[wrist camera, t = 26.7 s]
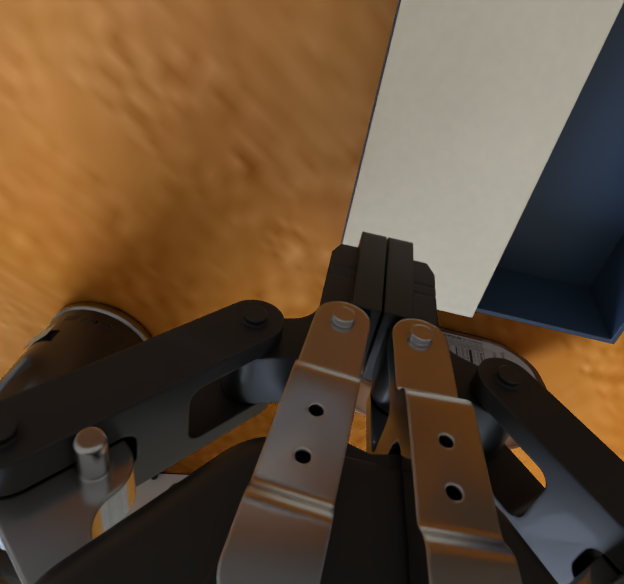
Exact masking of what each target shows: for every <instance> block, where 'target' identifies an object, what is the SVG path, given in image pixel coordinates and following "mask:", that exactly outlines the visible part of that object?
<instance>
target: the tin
mask: <svg viewBox="0 0 624 584" xmlns="http://www.w3.org/2000/svg"><path fill="white" fill-rule="evenodd" d="M438 329H439V330H440V331H442V333H443V334H444V335H445V337H446V339H447V342H448V346H449V350H451V351H452V352H453V353H455V354H456V355H458V356H459V357H461V358H463V359H465V360H467V361H469V362H471V363H474V364H476V365H478V366H479V365H480V363H481V362H482V361H483V360H485V359H487V358H492V357H497V358H504V359H507V360H510V361H512V362H514V363H516V364H518V365H520V366H521V367H523V368H524V369H525V370H526V371H527V372H529V373H530V374H531V375H532V376H533V377H534V378H535V379H536V380H537V381H538V382H539V383H540V384H541V385H542V386H543V387H544V388H546V386H545V384H544V382H543V381H542V378H541V376H540V375H539V373H538V372H537V370H536V369H535V368H534V367H533V366H532V365H531V364H530V363H529V362H528V361H527V360H526V359H524V358H523V357H522V356H520V355H519V354H517V353H516V352H514V351H513V350H511V349H509V348H507V347H505V346H503V345H501V344H499V343H497V342H494V341H491V340H488V339H484V338H480V337H476V336H472V335H468V334H463V333H459V332H455V331H451V330H447V329H443V328H439V327H438ZM362 373H363V369H362V372H361V375H360V378H361V382H360V388H359V392H358V397H357V402H356V406H355V411H356V412H358V413H360V414H362V415H364V416H366V402H367V399H368V396H369V393H370V390H371V386H372V380H368V379H364V378H362ZM504 444H505V445H506V446H507V447H508V448H509V449H514V448H518V447H520V446H519V445H518V444H517V443H516V442H515V441H514V440H513V439H512V438H511V437H510V436H509V437H508V439H507V440H506V442H505V443H504Z"/></svg>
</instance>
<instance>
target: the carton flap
mask: <svg viewBox="0 0 624 584" xmlns="http://www.w3.org/2000/svg"><path fill="white" fill-rule="evenodd" d="M623 3H624V0H401V3H400V7H399V11H398V15H397V20H396V24H395V28H394V32H393V36H392V40H391V44H390V49H389V53H388V57H387V61H386V65H385V69H384V73H383V78H382V82H381V86H380V90H379V94H378V98H377V102H376V107H375V111H374V115H373V119H372V123H371V127H370V131H369V136H368V140H367V144H366V148H365V152H364V156H363V160H362V164H361V169H360V173H359V177H358V181H357V185H356V189H355V193H354V198H353V202H352V206H351V210H350V214H349V218H348V222H347V227H346V231H345V235H344V239H343V243H342V244H345V245H350V246H354V247H358V245H359V241H360V238H361V234H362V232H363V231H364V232H368V233H372V234H377V235H381V236H385V237H387V239H388V237H390V238H394V239H399V240H403V241H407V242H412V243H413V258H414V260H415V261H419V262H423V263H427V264H428V266H429V267H430V269H431V270H432V272H433V273H434V275H435V289H436V304H437V310H441V311H445V312H450V313H454V314H458V315H462V316H467V317H471V318H472V317H473V315H474V313H475V311H476V309H477V306H478V304H479V302H480V300H481V298H482V296H483V294H484V292H485V290H486V288H487V286H488V284H489V282H490V279H491V277H492V275H493V273H494V271H495V269H496V267H497V265H498V263H499V261H500V259H501V257H502V254H503V252H504V250H505V248H506V246H507V244H508V242H509V240H510V238H511V236H512V234H513V232H514V230H515V227H516V225H517V223H518V221H519V219H520V217H521V215H522V213H523V211H524V209H525V207H526V205H527V202H528V200H529V198H530V196H531V194H532V192H533V190H534V188H535V186H536V184H537V182H538V180H539V178H540V175H541V173H542V171H543V169H544V167H545V165H546V163H547V161H548V159H549V157H550V155H551V153H552V150H553V148H554V146H555V144H556V142H557V140H558V138H559V136H560V134H561V132H562V130H563V128H564V126H565V123H566V121H567V119H568V117H569V115H570V113H571V111H572V109H573V107H574V105H575V103H576V101H577V98H578V96H579V94H580V92H581V90H582V88H583V86H584V84H585V82H586V80H587V78H588V76H589V73H590V71H591V69H592V67H593V65H594V63H595V61H596V59H597V57H598V55H599V53H600V51H601V49H602V46H603V44H604V42H605V40H606V38H607V36H608V34H609V32H610V30H611V28H612V26H613V24H614V21H615V19H616V17H617V15H618V13H619V11H620V9H621V7H622V5H623Z"/></svg>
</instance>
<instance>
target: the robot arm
mask: <svg viewBox="0 0 624 584" xmlns="http://www.w3.org/2000/svg"><path fill="white" fill-rule="evenodd" d="M32 343H33V344H32ZM31 344H32V345H31ZM29 345H31V346H30V347H29V348H28V349H27V351H26V352H25V353H24V354H23V355H22V356H21V357H20V358H19V360H18V361H17V362H16V363H15V364H14V365H13V366H12V368H11V369H10V370H9V371H8V372H7V373H6V374H5V375H4V377H3V378H2V379H1V380H0V584H624V462H623V461H622V460H621V459H620V458H619V457H618V456H617V455H616V454H615V453H614V452H613V451H612V450H611V449H609V448H608V447H607V446H606V445H605V444H604V443H603V442H602V441H601V440H600V439H599V438H598V437H597V436H596V435H595V434H593V433H592V432H591V431H590V430H589V429H588V428H587V427H586V426H585V425H584V424H583V423H582V422H581V421H580V420H579V419H577V418H576V417H575V416H574V415H573V414H572V413H571V412H570V411H569V410H568V409H567V408H566V407H565V406H564V405H563V404H562V403H560V402H559V401H558V400H557V399H556V398H555V397H554V396H553V395H552V394H551V393H550V392H549V391H548V390H547V389H546V388H544V387H543V386H542V385H541V384H540V383H539V382H538V381H537V380H536V379H535V378H534V377H533V376H532V375H531V374H530V373H529V372H527V371H526V370H525V369H524V368H523V367H521V366H520V365H518V364H516V363H514V362H512V361H510V360H507V359H504V358H497V357H492V358H487V359H485V360H483V361H482V362H481V363H480V365H479V366H478V365H476V364H474V363H471V362H469V361H467V360H465V359H463V358H461V357H459V356H458V355H456V354H455V353H453V352H452V351H451V350H449V346H448V342H447V339H446V337H445V335H444V334H443V333H442V331H440V330H439V329H438V318H437V304H436V289H435V275H434V273H433V272H432V270H431V269H430V267H429V266H428V264H427V263H423V262H419V261H415V260H414V258H413V243H412V242H407V241H403V240H399V239H394V238H390V237H388V239H387V237H385V236H381V235H377V234H372V233H368V232H364V231H363V232H362V234H361V238H360V241H359V245H358V247H354V246H350V245H345V244H341V245H339V246H338V247H337V248H336V249H335V250H333V251H332V255H331V259H330V264H329V268H328V272H327V276H326V280H325V285H324V289H323V293H322V298H321V302H320V306H319V307H318V308H317V310H316V311H315V312H314V313H313V314H311V315H309V316H306V317H303V318H294V319H284V317H283V315H282V313H281V312H280V311H279V310H278V309H277V308H276V307H275V306H273V305H271V304H269V303H267V302H264V301H260V300H244V301H240V302H237V303H235V304H232V305H230V306H227V307H225V308H223V309H220V310H218V311H215V312H213V313H211V314H208V315H206V316H203V317H201V318H199V319H196V320H194V321H191V322H189V323H186V324H184V325H182V326H179V327H177V328H174V329H172V330H170V331H167V332H165V333H162V334H160V335H157V336H155V337H153V338H151V336H150V335H149V334H148V332H147V331H146V330H145V329H144V328H143V327H142V326H141V325H140V324H139V323H138V322H136V321H135V320H134V319H133V318H131V317H130V316H128V315H126V314H125V313H123V312H121V311H119V310H117V309H115V308H112V307H109V306H106V305H103V304H98V303H92V302H80V303H74V304H71V305H68V306H66V307H64V308H63V309H62V310H61V311H60V312H59V313H58V314H57V315H56V316H55V317H54V318H53V320H52V321H51V323H50V325H49V326H48V327H47V328H46V330H45V331H43V332H41V333H40V334H38V335H37V336H35V337H34V338H33V339H32V340H31V341H30V342H29V343H28V344H27V345H26V346H25V348H26V347H27V346H29ZM362 369H363V373H362V378H364V379H368V380H372V386H371V390H370V393H369V396H368V399H367V402H366V452H365V451H363V450H360V449H358V448H356V447H354V446H352V445H350V444H348V440H349V435H350V430H351V425H352V421H353V416H354V411H355V406H356V402H357V397H358V392H359V388H360V382H361V378H360V375H361V372H362ZM278 402H280V403H279V405H278V408H277V411H276V413H275V416H274V419H273V421H272V424H271V427H270V430H269V432H268V435H267V437H259V438H255V439H250V440H247V441H245V442H242V443H239V444H237V445H235V446H233V447H231V448H229V449H227V450H226V451H224V452H222V453H221V454H219V455H218V456H216V457H215V458H214V459H212V460H211V461H209V462H208V463H206V464H205V465H203V466H202V467H200V468H199V469H197V470H196V471H194V472H193V473H191V474H190V475H188V476H187V477H185V478H184V479H182V480H181V481H179V482H178V483H176V484H175V485H173V486H172V487H170V488H169V489H167V490H166V491H165V492H163V493H162V494H160V495H159V496H157V497H156V498H154V499H153V500H151V501H150V502H148V503H147V504H145V505H144V506H142V507H141V508H139V509H138V510H136V511H135V512H133V513H132V514H130V515H129V516H127V517H126V518H124V516H125V515H126V514H127V513H128V512H129V510H130V509H131V507H132V505H133V503H134V500H135V496H136V487H137V486H139V485H140V484H142V483H144V482H145V481H147V480H149V479H150V478H151V479H152V480H155V479H157V478H158V474H159V473H160V472H162V471H164V470H165V469H167V468H169V467H171V466H172V465H174V464H176V463H177V462H179V461H181V460H182V459H184V458H186V457H187V456H189V455H191V454H192V453H194V452H196V451H197V450H199V449H201V448H202V447H204V446H206V445H207V444H209V443H211V442H212V441H214V440H216V439H217V438H219V437H221V436H222V435H224V434H226V433H227V432H229V431H231V430H232V429H234V428H236V427H237V426H239V425H241V424H242V423H244V422H246V421H247V420H249V419H251V418H252V417H254V416H256V415H257V414H259V413H261V412H262V411H264V410H265V409H266V408H267V406H268V404H269V403H278ZM509 436H510V437H511V438H512V439H513V440H514V441H515V442H516V443H517V444H518V445H519V446H520V447H521V448H522V449H523V451H524V452H525V453H526V454H527V455H528V456H529V457H530V458H531V459H532V460H533V461H534V462H535V463H536V465H537V466H538V467H539V468H540V469H541V471H542V472H543V474H544V477H545V480H546V487H545V488H544V487H543V486H542V484H541V483H540V482H539V481H538V480H537V479H536V478H535V477H534V476H533V475H532V473H531V472H530V471H529V470H528V469H527V468H526V467H525V466H524V465H523V464H522V462H521V461H520V460H519V459H518V458H517V457H516V456H515V455H514V454H513V453H512V451H511V450H510V449H509V448H508V447H507V446H506V445H505V444H504V443H505V442H506V440H507V439H508V437H509ZM122 518H124V519H123V520H121V519H122ZM120 520H121V521H120ZM119 521H120V522H119ZM116 523H117V524H116Z"/></svg>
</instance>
